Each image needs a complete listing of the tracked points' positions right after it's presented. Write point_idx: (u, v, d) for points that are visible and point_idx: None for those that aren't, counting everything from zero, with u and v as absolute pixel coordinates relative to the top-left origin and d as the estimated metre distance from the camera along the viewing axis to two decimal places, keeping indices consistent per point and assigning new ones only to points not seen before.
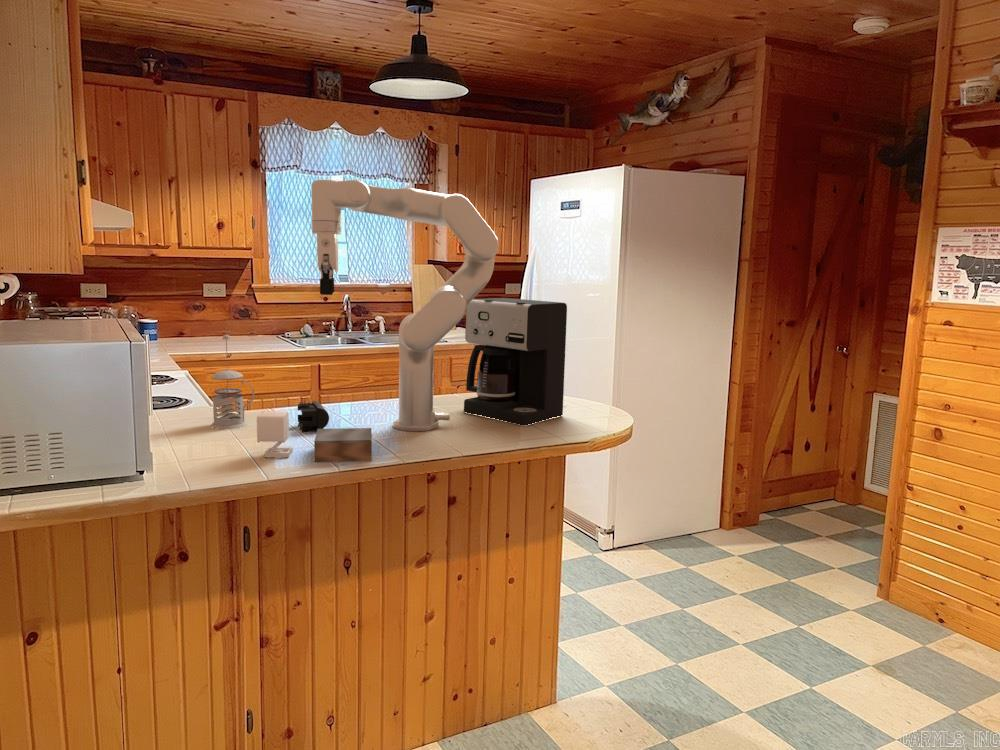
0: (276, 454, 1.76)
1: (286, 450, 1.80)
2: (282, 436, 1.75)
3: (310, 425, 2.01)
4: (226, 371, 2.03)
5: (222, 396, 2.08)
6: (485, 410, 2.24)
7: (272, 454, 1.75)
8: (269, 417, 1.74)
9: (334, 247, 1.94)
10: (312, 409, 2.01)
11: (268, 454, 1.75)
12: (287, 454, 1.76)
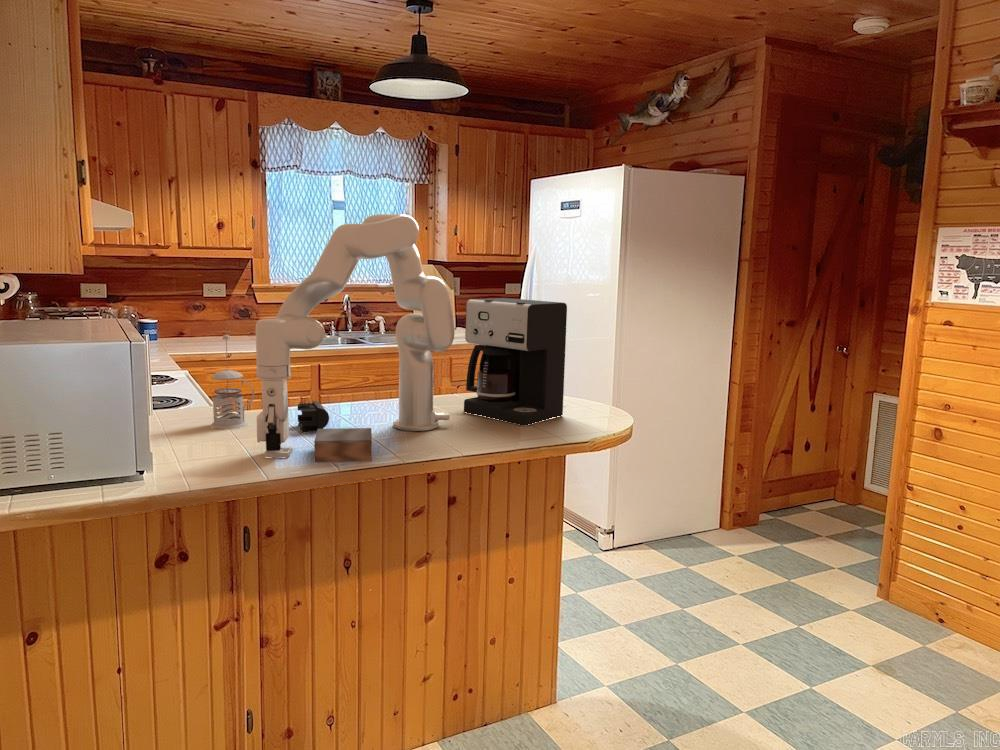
0: (276, 454, 1.75)
1: (286, 450, 1.80)
2: (282, 436, 1.75)
3: (310, 425, 2.01)
4: (226, 371, 2.03)
5: (222, 396, 2.08)
6: (485, 410, 2.24)
7: (272, 454, 1.75)
8: None
9: (281, 396, 1.72)
10: (312, 409, 2.01)
11: (268, 454, 1.75)
12: (287, 454, 1.76)
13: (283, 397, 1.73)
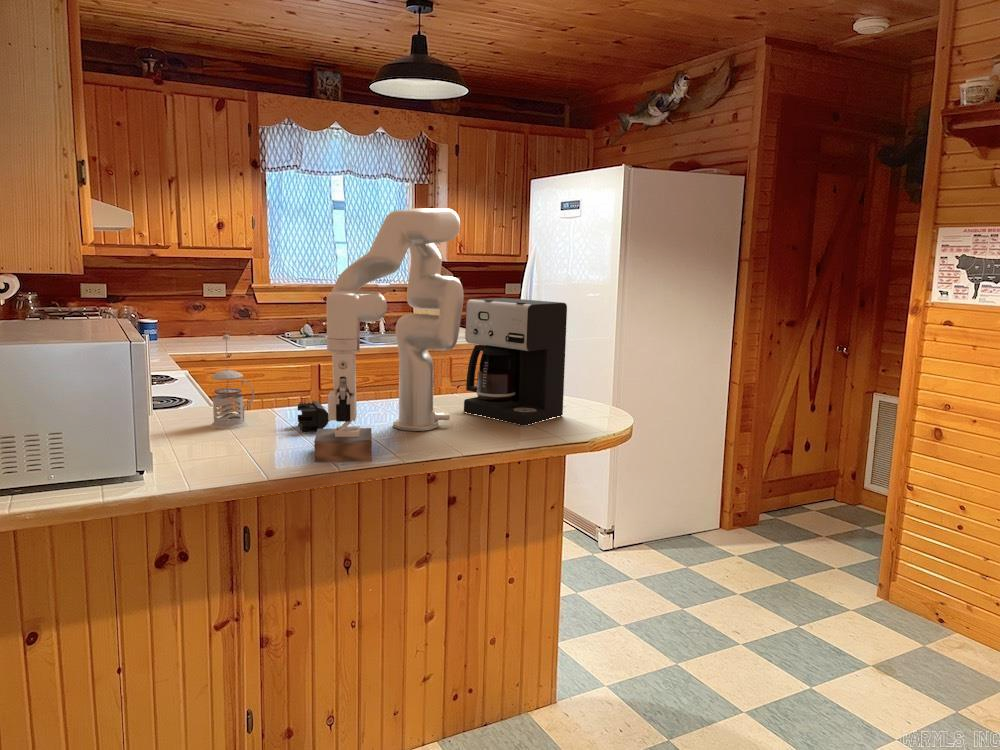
0: (346, 433, 1.77)
1: (354, 429, 1.81)
2: (353, 415, 1.76)
3: (310, 425, 2.01)
4: (226, 371, 2.03)
5: (222, 396, 2.08)
6: (485, 410, 2.24)
7: (343, 433, 1.77)
8: None
9: (352, 369, 1.72)
10: (312, 409, 2.01)
11: (339, 433, 1.77)
12: (357, 433, 1.77)
13: (354, 370, 1.73)
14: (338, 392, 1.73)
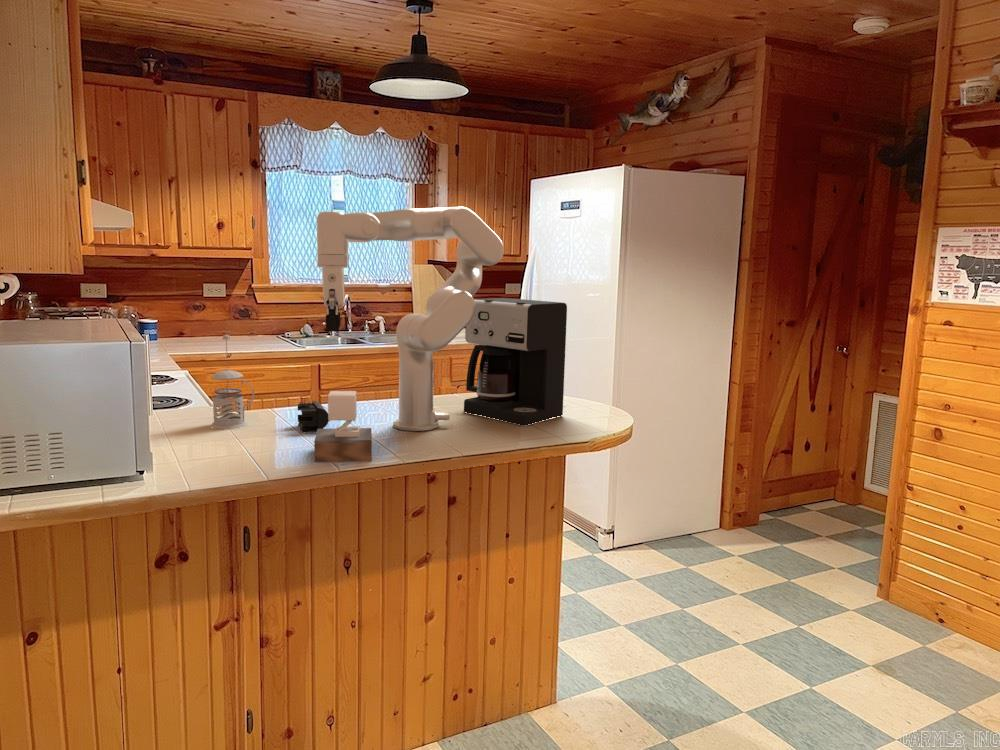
0: (346, 433, 1.77)
1: (354, 429, 1.81)
2: (353, 415, 1.76)
3: (310, 425, 2.01)
4: (226, 371, 2.03)
5: (222, 396, 2.08)
6: (485, 410, 2.24)
7: (343, 433, 1.77)
8: (340, 396, 1.75)
9: (341, 282, 1.86)
10: (312, 409, 2.01)
11: (339, 433, 1.77)
12: (357, 433, 1.77)
13: (342, 283, 1.87)
14: (328, 304, 1.87)
